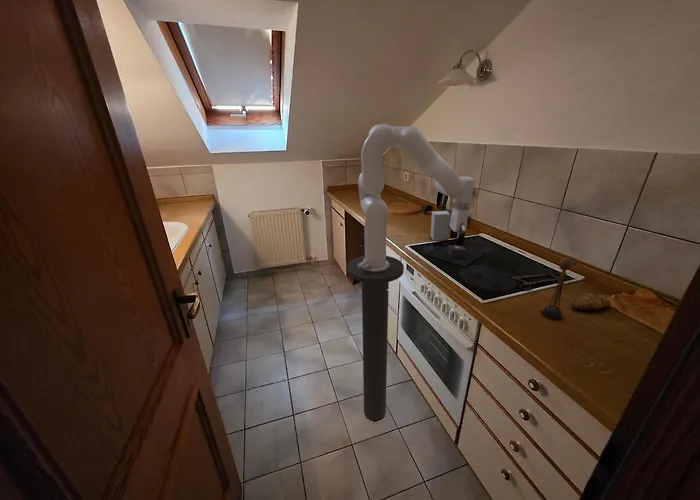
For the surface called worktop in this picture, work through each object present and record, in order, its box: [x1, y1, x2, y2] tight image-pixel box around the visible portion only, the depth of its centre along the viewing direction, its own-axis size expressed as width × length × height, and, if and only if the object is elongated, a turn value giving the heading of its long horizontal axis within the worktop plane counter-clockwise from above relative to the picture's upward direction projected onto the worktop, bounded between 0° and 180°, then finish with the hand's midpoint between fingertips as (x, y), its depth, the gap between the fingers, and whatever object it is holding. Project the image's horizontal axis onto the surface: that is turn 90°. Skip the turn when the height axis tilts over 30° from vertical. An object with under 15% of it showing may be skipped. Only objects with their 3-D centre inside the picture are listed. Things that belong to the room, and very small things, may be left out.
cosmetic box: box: [430, 210, 451, 242], centre depth 158 cm, size 8×6×15 cm
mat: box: [428, 245, 484, 268], centre depth 140 cm, size 18×18×1 cm
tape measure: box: [447, 244, 467, 258], centre depth 139 cm, size 7×6×4 cm
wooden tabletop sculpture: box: [542, 257, 577, 321], centre depth 91 cm, size 6×5×20 cm
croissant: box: [571, 292, 612, 312], centre depth 97 cm, size 14×7×5 cm, turn 100°
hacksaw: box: [511, 270, 572, 291], centre depth 114 cm, size 24×10×2 cm, turn 96°
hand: (456, 241), depth 137 cm, fingers open, 9 cm apart
